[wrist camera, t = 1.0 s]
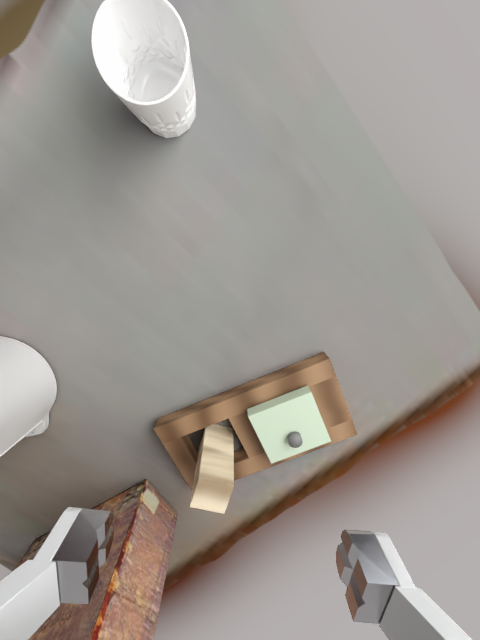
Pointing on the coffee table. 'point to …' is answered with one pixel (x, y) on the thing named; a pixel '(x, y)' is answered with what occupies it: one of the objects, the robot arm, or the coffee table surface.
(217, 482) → the maple block
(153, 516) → the book
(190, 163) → the coffee table surface
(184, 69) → the white cup
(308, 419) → the lid
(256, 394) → the puzzle board
